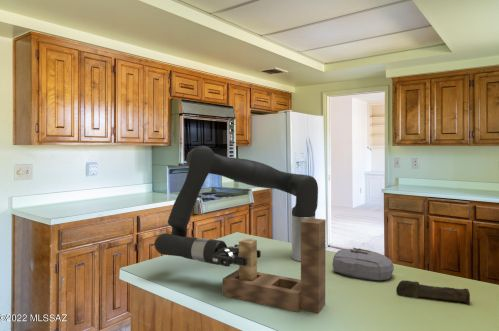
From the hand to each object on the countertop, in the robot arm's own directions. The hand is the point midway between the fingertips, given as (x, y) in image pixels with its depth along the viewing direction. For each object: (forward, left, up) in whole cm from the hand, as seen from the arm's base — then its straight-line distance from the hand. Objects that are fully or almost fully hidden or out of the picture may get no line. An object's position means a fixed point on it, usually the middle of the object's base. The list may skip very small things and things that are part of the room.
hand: (253, 258), depth 107 cm
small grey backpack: (-42, -6, -11) cm, 44 cm away
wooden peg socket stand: (-5, +5, -11) cm, 13 cm away
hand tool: (-48, +19, -12) cm, 53 cm away
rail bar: (+1, -1, -10) cm, 10 cm away
